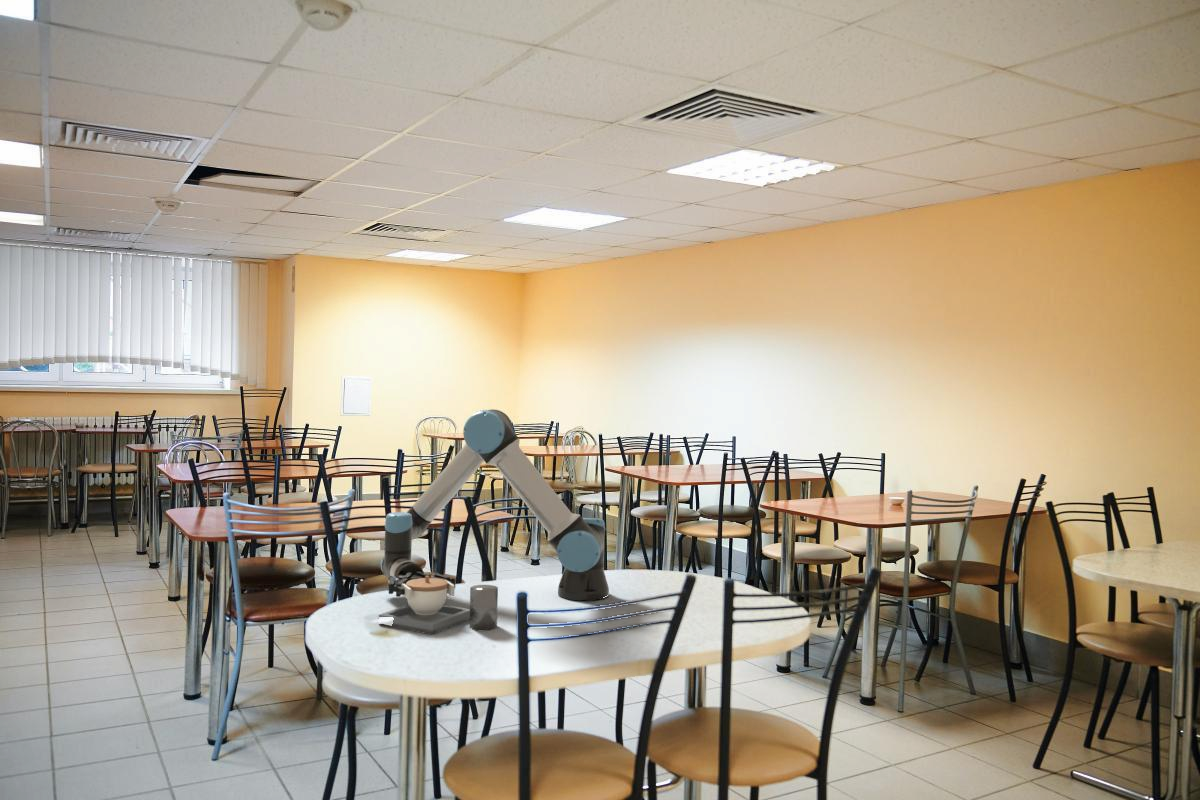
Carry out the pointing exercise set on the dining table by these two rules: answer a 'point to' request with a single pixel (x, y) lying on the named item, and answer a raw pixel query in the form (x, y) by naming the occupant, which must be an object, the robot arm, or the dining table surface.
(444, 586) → the lidded jar
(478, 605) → the metal tin
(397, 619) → the tray
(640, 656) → the dining table surface
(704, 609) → the dining table surface
